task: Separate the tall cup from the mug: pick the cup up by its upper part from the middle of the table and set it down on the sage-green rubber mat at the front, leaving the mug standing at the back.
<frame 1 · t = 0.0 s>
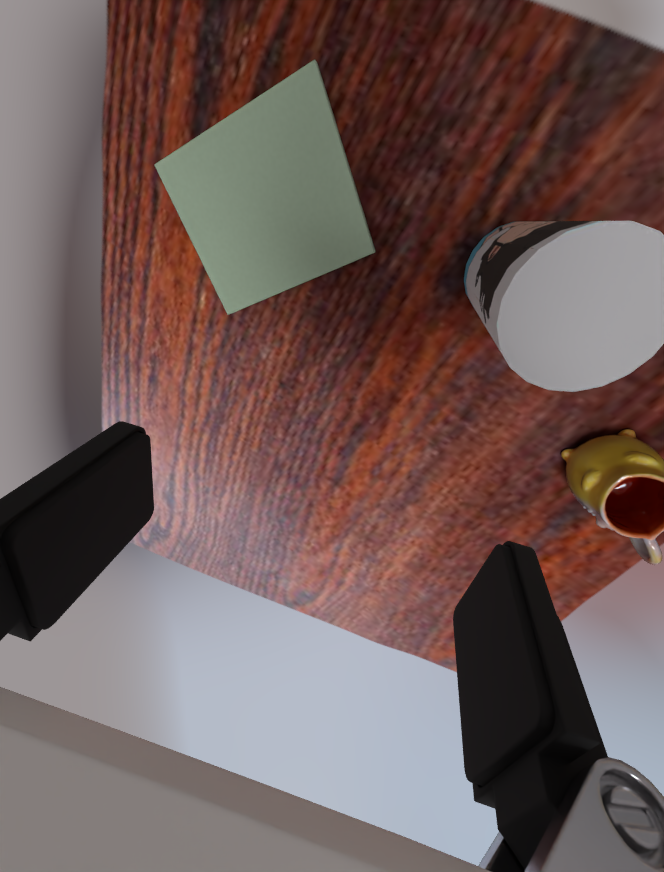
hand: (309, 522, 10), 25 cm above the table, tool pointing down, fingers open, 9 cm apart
cup: (510, 272, 28), on the table
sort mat: (266, 208, 29), on the table
mug: (608, 481, 35), on the table
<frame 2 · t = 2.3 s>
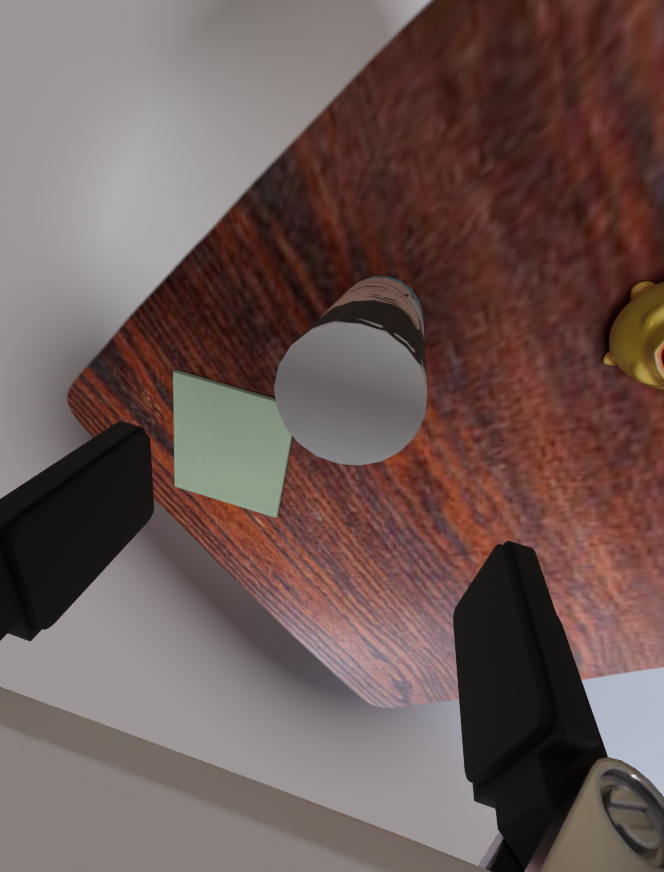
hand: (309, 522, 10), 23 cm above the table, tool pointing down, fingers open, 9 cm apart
cup: (378, 321, 29), on the table
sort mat: (231, 448, 38), on the table
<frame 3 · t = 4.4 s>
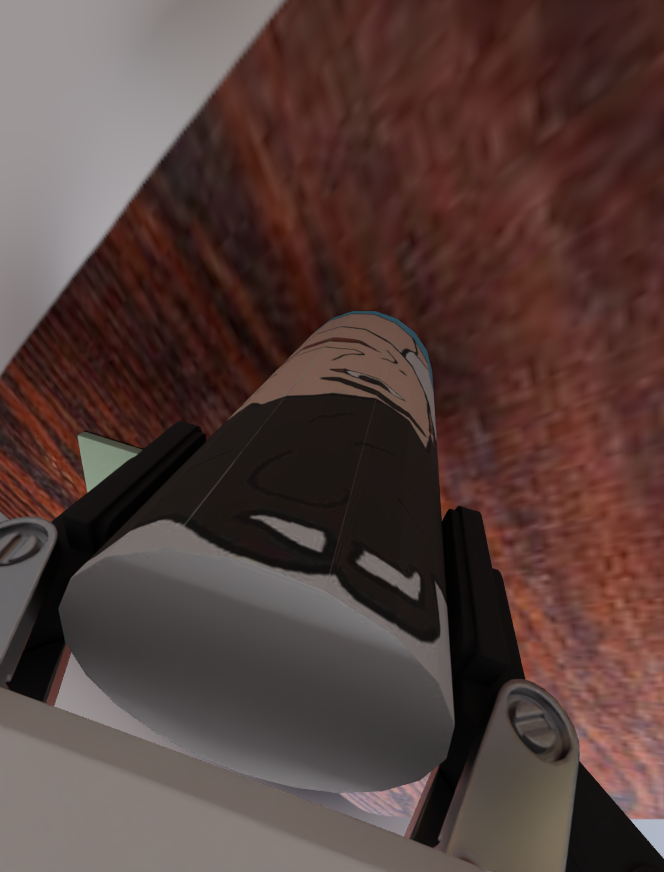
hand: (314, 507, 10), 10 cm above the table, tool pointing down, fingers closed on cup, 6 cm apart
cup: (364, 377, 19), on the table, touching gripper
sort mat: (169, 530, 28), on the table
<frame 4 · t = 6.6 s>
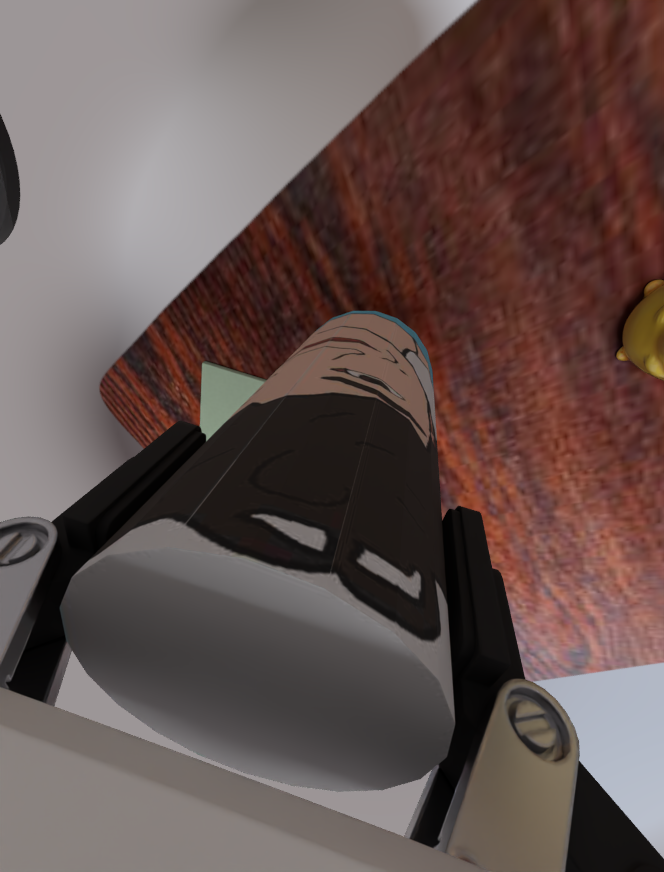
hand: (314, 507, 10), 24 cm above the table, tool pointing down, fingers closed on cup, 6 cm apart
cup: (364, 377, 19), point 14 cm above the table, touching gripper
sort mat: (254, 437, 40), on the table
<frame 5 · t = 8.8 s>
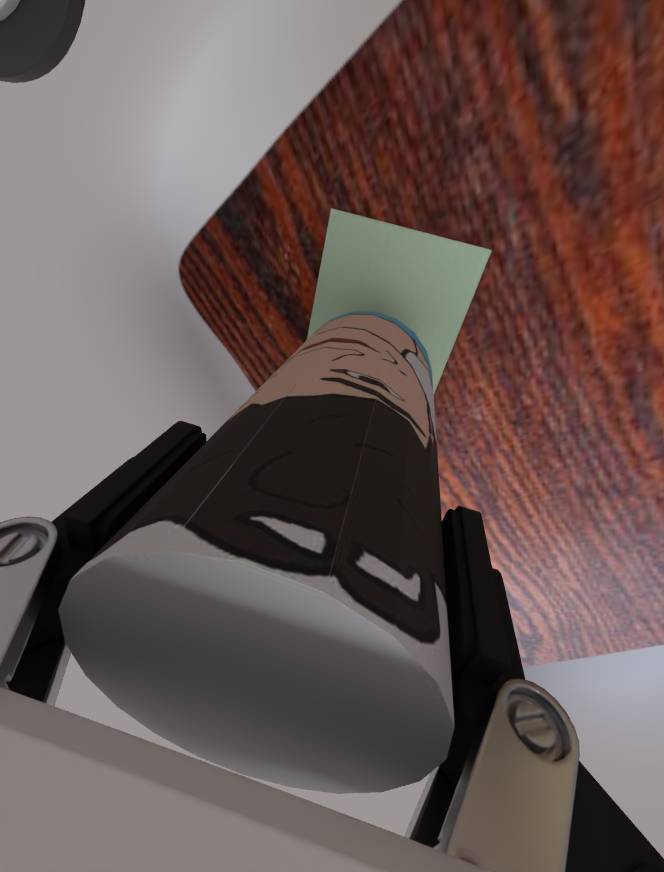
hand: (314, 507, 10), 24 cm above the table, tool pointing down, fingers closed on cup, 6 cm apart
cup: (364, 377, 19), point 14 cm above the table, touching gripper
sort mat: (383, 322, 31), on the table
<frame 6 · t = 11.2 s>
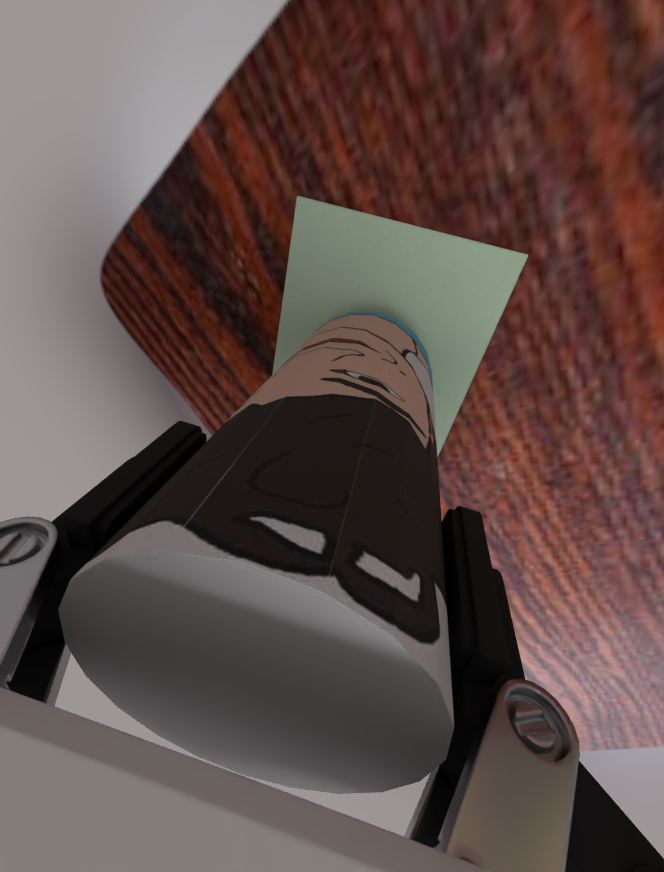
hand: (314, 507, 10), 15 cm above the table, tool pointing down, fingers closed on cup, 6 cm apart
cup: (364, 377, 19), point 4 cm above the table, touching gripper
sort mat: (374, 352, 23), on the table
when the fingers open (11 cm above the table, at t = 13.0 s): cup stays where it is, resting on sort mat.
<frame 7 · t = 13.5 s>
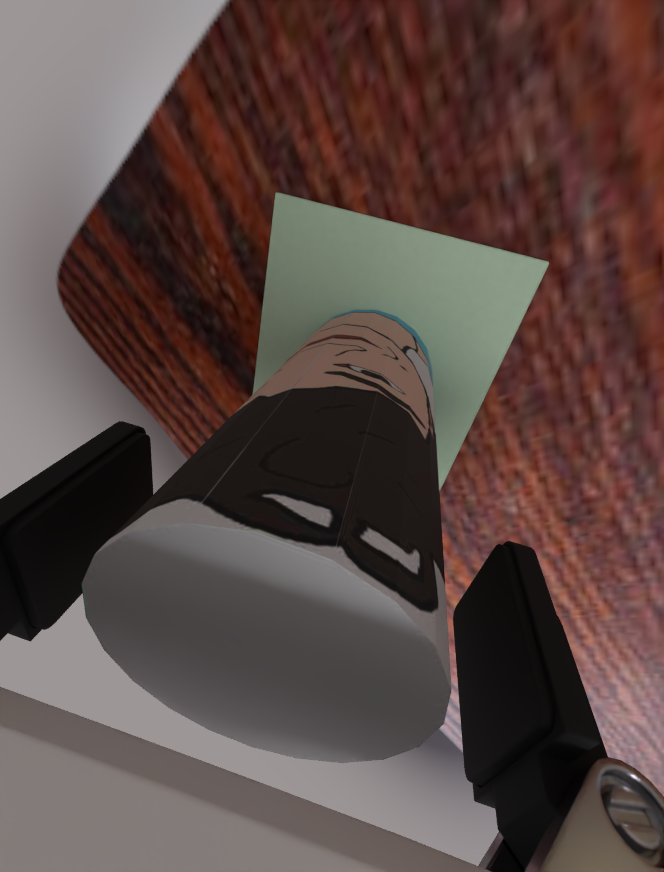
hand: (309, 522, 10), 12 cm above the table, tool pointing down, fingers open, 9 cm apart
cup: (365, 374, 20), resting on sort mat
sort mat: (367, 372, 20), on the table
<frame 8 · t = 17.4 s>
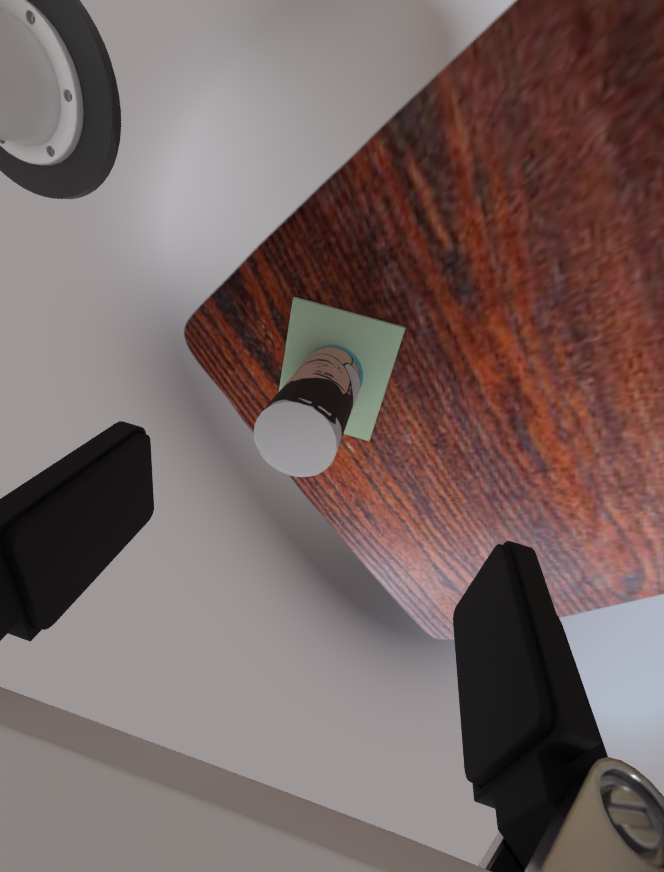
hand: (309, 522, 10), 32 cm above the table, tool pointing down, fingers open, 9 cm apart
cup: (333, 374, 42), resting on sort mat
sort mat: (335, 373, 42), on the table
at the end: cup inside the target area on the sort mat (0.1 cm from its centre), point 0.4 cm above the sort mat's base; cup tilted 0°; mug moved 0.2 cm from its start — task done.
